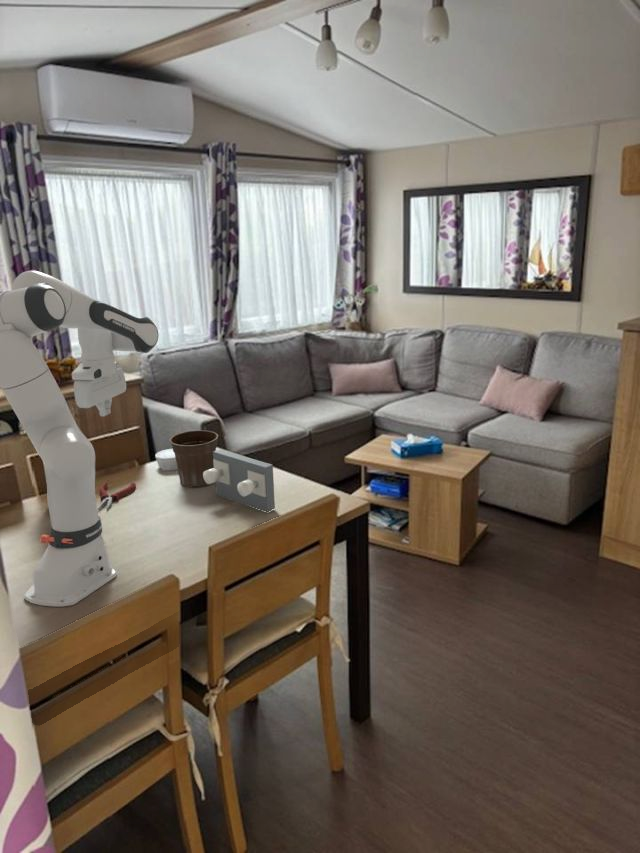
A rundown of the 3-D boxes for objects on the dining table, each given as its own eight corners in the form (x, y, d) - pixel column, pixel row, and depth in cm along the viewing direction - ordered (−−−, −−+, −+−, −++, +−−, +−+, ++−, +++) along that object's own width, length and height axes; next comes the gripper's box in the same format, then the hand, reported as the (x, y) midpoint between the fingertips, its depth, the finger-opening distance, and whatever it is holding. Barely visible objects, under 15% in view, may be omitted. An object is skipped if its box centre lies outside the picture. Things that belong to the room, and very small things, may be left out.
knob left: (212, 485, 198) (211, 472, 197) (203, 482, 201) (202, 469, 200) (225, 480, 202) (224, 467, 201) (216, 477, 205) (215, 464, 204)
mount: (266, 514, 193) (264, 468, 189) (215, 495, 208) (211, 452, 204) (274, 510, 196) (272, 464, 191) (223, 491, 211) (220, 449, 206)
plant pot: (199, 493, 210) (195, 447, 205) (164, 485, 218) (159, 440, 213) (230, 477, 223) (227, 434, 218) (196, 470, 231) (192, 427, 226)
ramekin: (150, 467, 235) (149, 454, 233) (174, 459, 243) (173, 446, 241) (169, 474, 228) (167, 460, 226) (193, 465, 236) (192, 452, 234)
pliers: (84, 513, 198) (83, 505, 197) (103, 488, 217) (102, 481, 216) (121, 512, 198) (120, 505, 197) (137, 488, 217) (136, 481, 217)
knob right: (247, 498, 188) (246, 484, 187) (237, 494, 191) (236, 480, 190) (260, 492, 192) (260, 478, 191) (250, 489, 195) (250, 475, 194)
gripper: (109, 360, 188) (115, 405, 192) (67, 375, 169) (74, 424, 173) (128, 360, 187) (134, 405, 191) (88, 375, 168) (94, 425, 172)
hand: (105, 415), depth 182 cm, fingers closed
